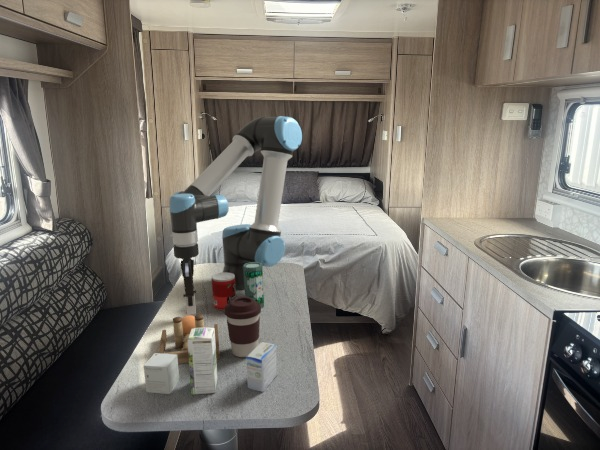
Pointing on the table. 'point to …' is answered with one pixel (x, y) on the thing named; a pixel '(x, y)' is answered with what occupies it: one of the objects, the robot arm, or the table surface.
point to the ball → (188, 324)
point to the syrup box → (202, 360)
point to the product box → (161, 373)
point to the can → (254, 281)
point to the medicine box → (261, 366)
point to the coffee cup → (243, 325)
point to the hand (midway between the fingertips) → (191, 313)
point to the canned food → (223, 289)
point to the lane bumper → (183, 355)
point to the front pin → (185, 342)
